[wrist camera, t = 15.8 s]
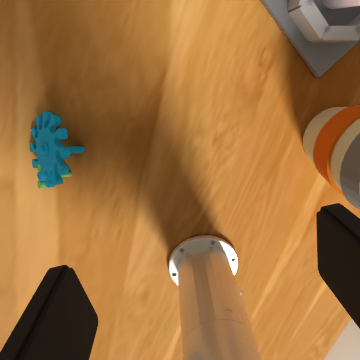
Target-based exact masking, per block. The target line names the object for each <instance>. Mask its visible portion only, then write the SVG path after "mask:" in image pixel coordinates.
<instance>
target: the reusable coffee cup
mask: <svg viewBox="0 0 360 360" xmlns="http://www.w3.org/2000/svg"><path fill="white" fill-rule="evenodd" d="M303 149H304V152H305V154H306V155H307V157H308V158H309V159H310V160H311V161H312V162H313V163H314V164H315V166H316V168H317V170H318V172H319V173H320V174H321V175H322V176H323V177H324V178H325V179H326V180H327V181H328V182H329V183H330V184H331V185H332V186H333V187H334V188H335V189H336V190H337V191H338V192H339V193H340V194H342V195H344V196H345V197H346V199H347V200H348V201H349V202H350V203H351V204H352V205H353V206H354V207H356V208H358V209H360V104H357V105H353V106H350V107H332V108H329V109H326V110H324V111H322V112H320V113H319V114H318V115H316V116H315V117H314V118H313V119H312V120H311V121H310V123H309V124H308V126H307V128H306V130H305V132H304V136H303Z"/></svg>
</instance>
